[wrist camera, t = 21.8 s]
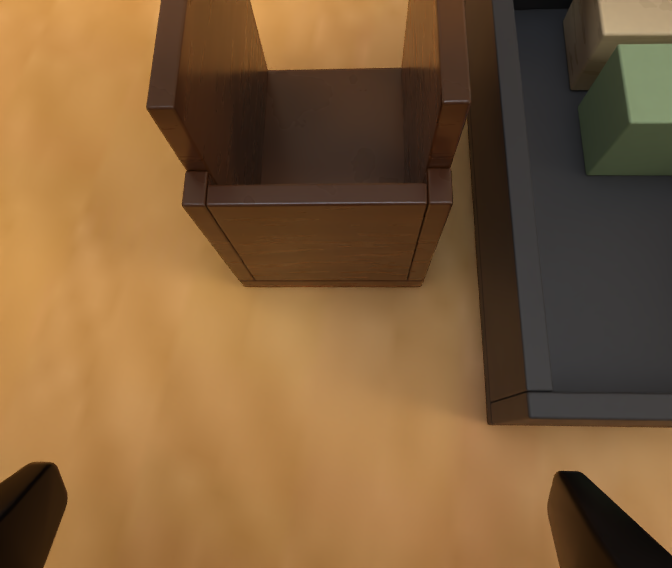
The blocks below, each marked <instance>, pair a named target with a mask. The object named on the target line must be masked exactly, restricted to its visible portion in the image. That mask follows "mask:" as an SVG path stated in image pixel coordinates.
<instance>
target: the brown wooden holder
mask: <svg viewBox="0 0 672 568" xmlns="http://www.w3.org/2000/svg"><path fill="white" fill-rule="evenodd" d="M470 105H471V90H470V76H469V61H468V47H467V33H466V19H465V5H464V0H409V2H408V11H407V21H406V30H405V40H404V49H403V59H402V68H364V69H316V70H268V69H267V65H266V61H265V57H264V53H263V49H262V45H261V41H260V38H259V34H258V30H257V26H256V22H255V18H254V14H253V10H252V6H251V2H250V0H161V5H160V12H159V19H158V26H157V34H156V41H155V48H154V55H153V62H152V70H151V77H150V84H149V91H148V99H147V106H146V108H147V110H148V112H149V113H150V115H151V117H152V118H153V120H154V121H155V123H156V124H157V126H158V127H159V129H160V130H161V132H162V133H163V135H164V137H165V138H166V140H167V141H168V143H169V144H170V146H171V147H172V149H173V150H174V152H175V154H176V155H177V157H178V158H179V160H180V161H181V163H182V164H183V166H184V167H185V169H186V170H187V171H186V173H185V182H184V191H183V200H182V206H183V208H184V209H185V210H186V212H187V213H188V214H189V216H190V217H191V218H192V220H193V221H194V222H195V224H196V225H197V226H198V227H199V229H200V230H201V231H202V233H203V234H204V235H205V237H206V238H207V239H208V241H209V242H210V243H211V244H212V246H213V247H214V248H215V250H216V251H217V252H218V254H219V255H220V256H221V258H222V259H223V260H224V261H225V263H226V264H227V265H228V267H229V268H230V269H231V271H232V272H233V273H234V275H235V276H236V277H237V278H238V280H240V282H241V283H242V285H243V286H245V287H420V286H421V285H422V283H423V280H424V278H425V275H426V273H427V270H428V267H429V265H430V262H431V259H432V257H433V254H434V251H435V249H436V246H437V244H438V241H439V238H440V236H441V233H442V230H443V228H444V225H445V222H446V220H447V217H448V215H449V212H450V209H451V207H452V204H453V193H452V175H451V169H450V167H451V164H452V161H453V158H454V154H455V151H456V148H457V145H458V142H459V139H460V136H461V133H462V129H463V126H464V123H465V120H466V117H467V114H468V111H469V108H470Z"/></svg>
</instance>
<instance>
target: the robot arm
mask: <svg viewBox="0 0 672 568" xmlns="http://www.w3.org/2000/svg"><path fill="white" fill-rule="evenodd" d="M67 498H68V497H67V491H66V488H65V485H64V483H63V480H62V477H61V475H60V472H59V470H58V467H57V466H56V465H55V464H54V463H52V462H32V463H29V464H28V465H26V466H24V467H23V468H21V469H20V470H19V471H17V472H16V473H14V474H13V475H11V476H10V477H9V478H7V479H6V480H4V481H3V482H1V483H0V568H44V565H45V562H46V560H47V557H48V554H49V551H50V549H51V546H52V543H53V541H54V538H55V535H56V533H57V530H58V527H59V524H60V522H61V519H62V516H63V514H64V511H65V508H66V505H67ZM547 510H548V518H549V522H550V526H551V531H552V535H553V539H554V544H555V548H556V552H557V557H558V561H559V565H560V568H672V555H671V554H670V553H669V552H667V551H666V550H665V549H664V548H663V547H662V546H661V545H660V544H659V543H658V542H657V541H656V540H654V539H653V538H652V537H651V536H650V535H649V534H648V533H647V532H646V531H645V530H644V529H643V528H642V527H640V526H639V525H638V524H637V523H636V522H635V521H634V520H633V519H632V518H631V517H630V516H629V515H627V514H626V513H625V512H624V511H623V510H622V509H621V508H620V507H619V506H618V505H617V504H616V503H614V502H613V501H612V500H611V499H610V498H609V497H608V496H607V495H606V494H605V493H604V492H603V491H602V490H600V489H599V488H598V487H597V486H596V485H595V484H594V483H593V482H592V481H591V480H590V479H589V478H587V477H586V476H585V475H584V474H583V473H581V472H578V471H558V472H556V474H555V475H554V478H553V482H552V487H551V491H550V495H549V499H548V505H547Z"/></svg>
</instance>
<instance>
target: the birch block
mask: <svg viewBox="0 0 672 568" xmlns="http://www.w3.org/2000/svg"><path fill="white" fill-rule="evenodd" d="M563 26H564V36H565V45H566V54H567V63H568V72H569V81H570V89H571V90H589V89H590V87H591V86H592V84H593V83H594V81H595V80H596V78H597V76H598V75H599V73H600V72H601V70H602V69H603V67H604V66H605V64H606V62H607V61H608V59H609V58H610V56H611V55H612V53H613V52H614V50H615V48H616V47H617V45H619V44H672V0H573V1H572V3H571V5H570V7H569V9H568V12H567V14H566V16H565V18H564V20H563Z"/></svg>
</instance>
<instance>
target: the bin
mask: <svg viewBox="0 0 672 568" xmlns="http://www.w3.org/2000/svg"><path fill="white" fill-rule="evenodd" d="M572 1H573V0H464V5H465V19H466V33H467V47H468V61H469V76H470V90H471V105H470V108H469V111H468V114H467V119H468V134H469V149H470V164H471V179H472V194H473V209H474V224H475V239H476V254H477V269H478V284H479V299H480V314H481V329H482V344H483V359H484V374H485V389H486V404H487V419H488V424H489V425H535V426H606V427H672V175H586V170H585V162H584V154H583V146H582V137H581V129H580V121H579V113H578V106H579V104H580V103H581V101H582V100H583V98H584V97H585V95H586V94H587V92H588V90H571V89H570V81H569V72H568V63H567V54H566V45H565V36H564V26H563V20H564V18H565V16H566V14H567V12H568V9H569V7H570V5H571V3H572Z"/></svg>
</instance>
